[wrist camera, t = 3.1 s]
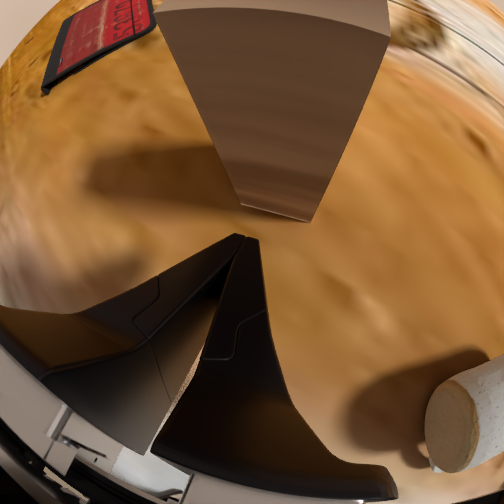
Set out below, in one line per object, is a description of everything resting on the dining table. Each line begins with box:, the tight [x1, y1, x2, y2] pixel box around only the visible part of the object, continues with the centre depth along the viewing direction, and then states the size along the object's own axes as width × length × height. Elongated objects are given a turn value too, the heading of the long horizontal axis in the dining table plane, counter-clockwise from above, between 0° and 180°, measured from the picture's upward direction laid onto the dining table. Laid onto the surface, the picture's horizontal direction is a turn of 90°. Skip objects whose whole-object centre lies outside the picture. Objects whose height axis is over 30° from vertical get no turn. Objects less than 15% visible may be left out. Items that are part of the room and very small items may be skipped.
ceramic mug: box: [424, 354, 504, 473], centre depth 10 cm, size 11×8×8 cm
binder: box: [41, 0, 157, 95], centre depth 23 cm, size 16×2×21 cm
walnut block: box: [153, 0, 391, 223], centre depth 10 cm, size 4×4×14 cm
